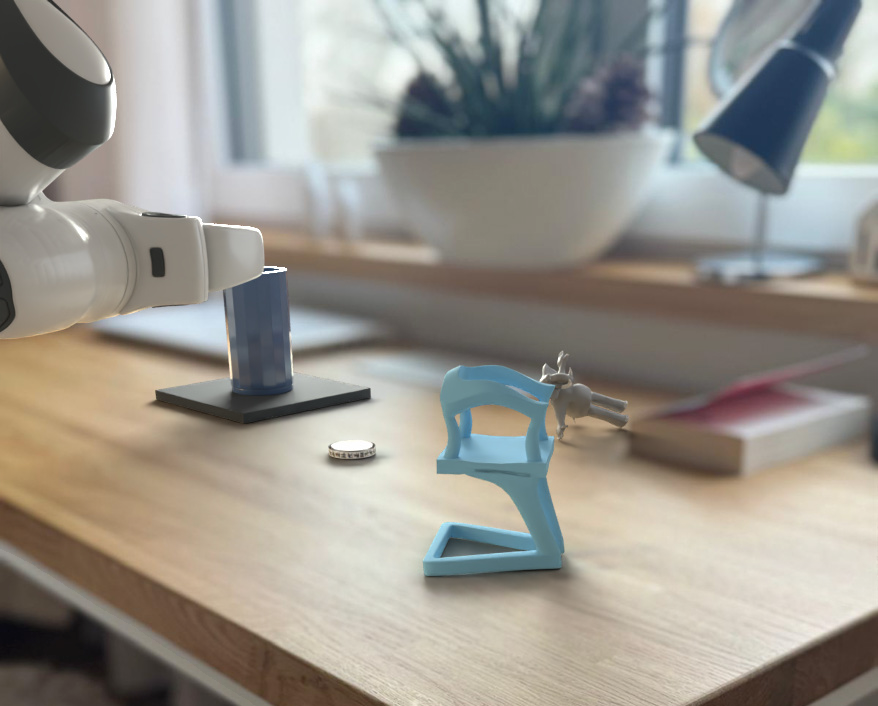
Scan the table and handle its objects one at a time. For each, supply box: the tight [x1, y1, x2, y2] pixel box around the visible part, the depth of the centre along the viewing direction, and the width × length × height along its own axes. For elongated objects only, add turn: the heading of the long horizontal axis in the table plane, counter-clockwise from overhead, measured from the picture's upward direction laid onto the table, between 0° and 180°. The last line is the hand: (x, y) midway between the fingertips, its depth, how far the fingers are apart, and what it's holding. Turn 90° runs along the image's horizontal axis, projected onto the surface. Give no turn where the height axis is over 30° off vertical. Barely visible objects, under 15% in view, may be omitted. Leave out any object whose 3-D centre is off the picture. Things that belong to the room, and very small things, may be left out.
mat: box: [154, 371, 372, 424], centre depth 113 cm, size 16×16×1 cm
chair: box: [422, 364, 566, 577], centre depth 66 cm, size 8×8×12 cm
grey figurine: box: [538, 350, 630, 441], centre depth 98 cm, size 10×6×9 cm
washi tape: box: [327, 439, 377, 460], centre depth 92 cm, size 4×4×1 cm
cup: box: [222, 266, 294, 396], centre depth 110 cm, size 6×6×12 cm
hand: (189, 244), depth 96 cm, fingers open, 8 cm apart
